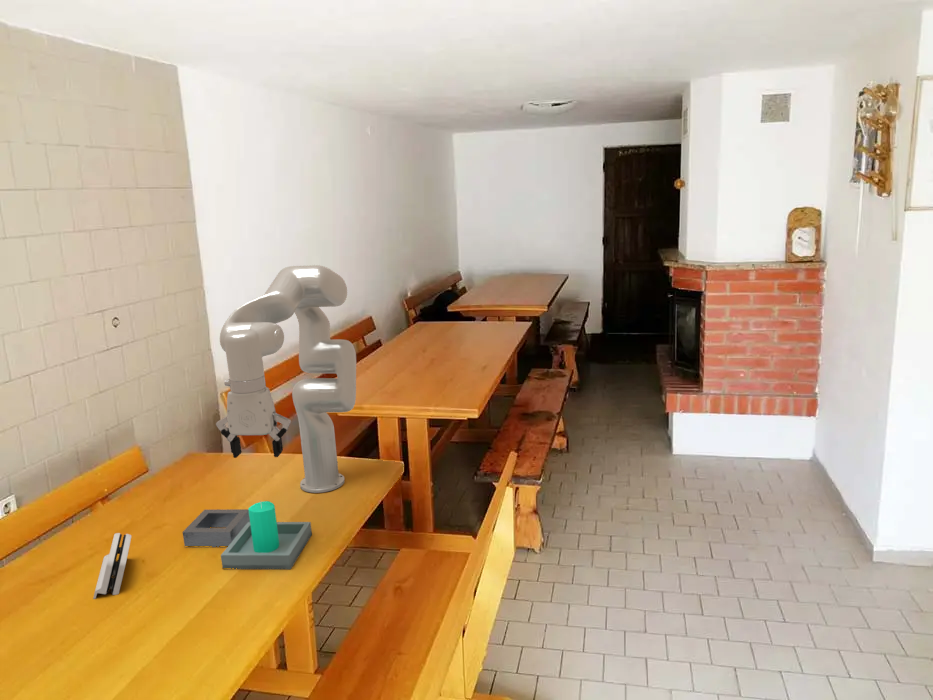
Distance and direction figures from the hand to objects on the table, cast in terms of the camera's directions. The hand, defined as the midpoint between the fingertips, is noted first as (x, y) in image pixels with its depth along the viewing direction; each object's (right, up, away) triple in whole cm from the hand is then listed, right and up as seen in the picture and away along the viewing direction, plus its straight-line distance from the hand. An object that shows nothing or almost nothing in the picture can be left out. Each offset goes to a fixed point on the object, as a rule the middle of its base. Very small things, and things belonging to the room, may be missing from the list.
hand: (257, 455), depth 165 cm
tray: (+1, -24, +5) cm, 24 cm away
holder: (-14, -22, +15) cm, 30 cm away
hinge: (-31, -28, -2) cm, 42 cm away
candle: (+1, -23, +5) cm, 23 cm away
